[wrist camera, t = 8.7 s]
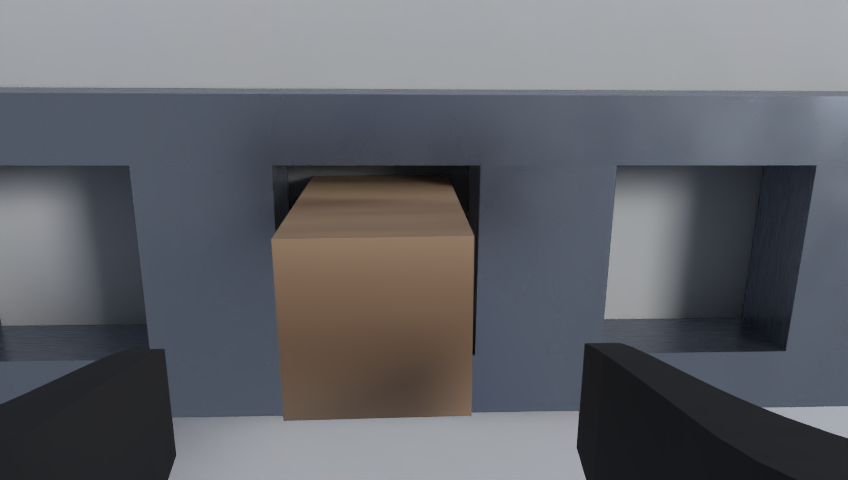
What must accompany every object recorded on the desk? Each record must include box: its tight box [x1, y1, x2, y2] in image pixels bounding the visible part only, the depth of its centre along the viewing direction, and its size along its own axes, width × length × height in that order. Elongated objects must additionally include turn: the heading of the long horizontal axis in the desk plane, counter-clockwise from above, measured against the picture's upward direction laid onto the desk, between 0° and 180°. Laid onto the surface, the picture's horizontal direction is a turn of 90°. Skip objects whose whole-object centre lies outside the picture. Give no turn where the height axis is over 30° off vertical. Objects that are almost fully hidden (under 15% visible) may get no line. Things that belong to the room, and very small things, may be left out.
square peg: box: [271, 174, 474, 421], centre depth 17 cm, size 4×4×7 cm
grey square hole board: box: [0, 87, 848, 417], centre depth 19 cm, size 9×28×2 cm, turn 89°
